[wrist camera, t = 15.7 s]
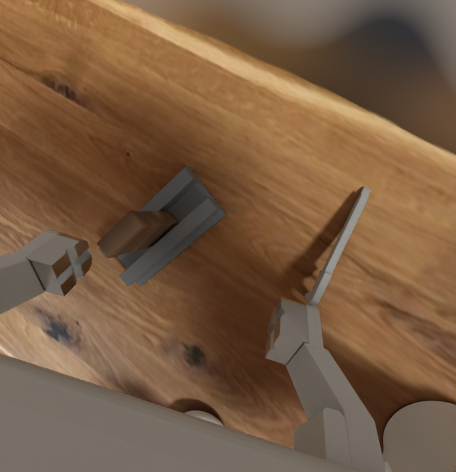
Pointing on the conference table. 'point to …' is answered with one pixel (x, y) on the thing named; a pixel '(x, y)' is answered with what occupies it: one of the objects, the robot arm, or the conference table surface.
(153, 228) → the wooden picture frame
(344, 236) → the caliper
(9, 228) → the conference table surface
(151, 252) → the picture ledge
